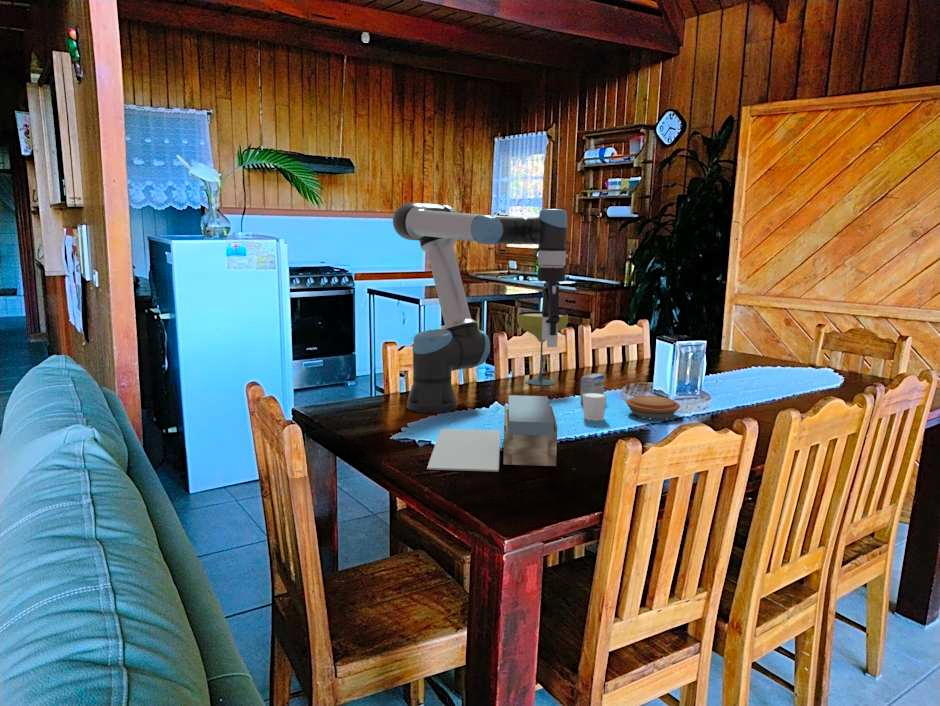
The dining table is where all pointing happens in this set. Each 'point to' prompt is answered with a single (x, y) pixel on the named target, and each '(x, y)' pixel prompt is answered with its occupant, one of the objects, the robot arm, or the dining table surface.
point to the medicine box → (592, 384)
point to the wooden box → (529, 447)
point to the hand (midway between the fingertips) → (549, 343)
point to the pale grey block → (530, 416)
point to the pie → (652, 407)
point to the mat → (466, 450)
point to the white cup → (594, 406)
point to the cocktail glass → (538, 336)
